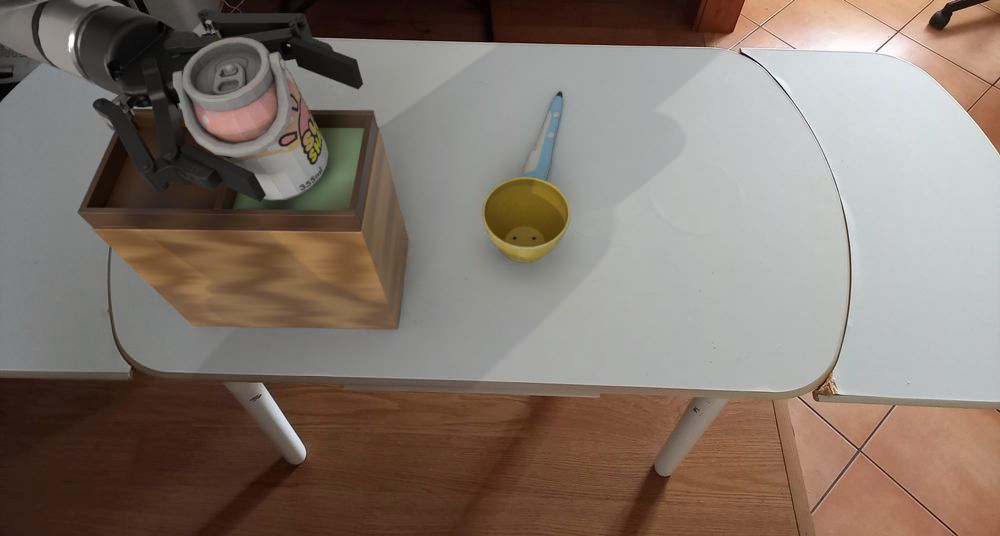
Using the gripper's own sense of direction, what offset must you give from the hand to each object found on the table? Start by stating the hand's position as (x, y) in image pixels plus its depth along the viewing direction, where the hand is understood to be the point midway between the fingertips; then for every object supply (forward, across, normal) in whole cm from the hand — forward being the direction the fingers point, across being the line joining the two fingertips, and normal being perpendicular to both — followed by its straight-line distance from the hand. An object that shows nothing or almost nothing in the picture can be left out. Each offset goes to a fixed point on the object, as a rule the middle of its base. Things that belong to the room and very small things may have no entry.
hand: (310, 128), depth 49 cm
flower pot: (+13, -14, -28) cm, 34 cm away
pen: (+8, -30, -28) cm, 42 cm away
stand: (-9, +3, -28) cm, 29 cm away
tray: (-9, +3, -8) cm, 12 cm away
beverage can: (-4, +1, -7) cm, 8 cm away
